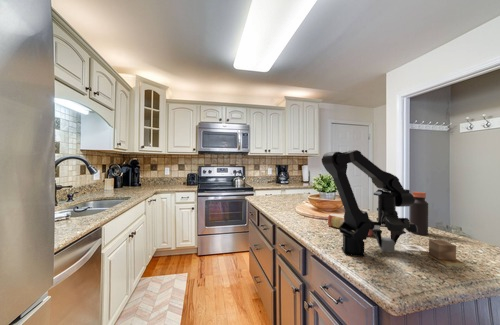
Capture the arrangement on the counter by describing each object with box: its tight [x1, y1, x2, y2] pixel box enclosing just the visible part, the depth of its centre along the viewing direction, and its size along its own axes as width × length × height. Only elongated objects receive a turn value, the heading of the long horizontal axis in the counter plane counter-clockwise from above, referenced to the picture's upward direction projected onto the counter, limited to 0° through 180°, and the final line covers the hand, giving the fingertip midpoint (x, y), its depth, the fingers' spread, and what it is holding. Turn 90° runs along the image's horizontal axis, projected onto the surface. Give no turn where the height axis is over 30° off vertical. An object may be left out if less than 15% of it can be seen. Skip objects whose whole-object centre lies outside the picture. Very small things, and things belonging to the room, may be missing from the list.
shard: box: [419, 250, 467, 268], centre depth 72 cm, size 11×8×2 cm
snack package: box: [327, 212, 375, 237], centre depth 102 cm, size 21×7×7 cm, turn 40°
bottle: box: [409, 191, 429, 236], centre depth 99 cm, size 7×7×20 cm
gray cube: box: [377, 236, 396, 253], centre depth 79 cm, size 4×4×4 cm
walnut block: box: [428, 238, 457, 261], centre depth 71 cm, size 5×5×5 cm
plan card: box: [399, 243, 429, 253], centre depth 80 cm, size 7×5×1 cm
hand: (386, 246), depth 79 cm, fingers closed on gray cube, 4 cm apart
